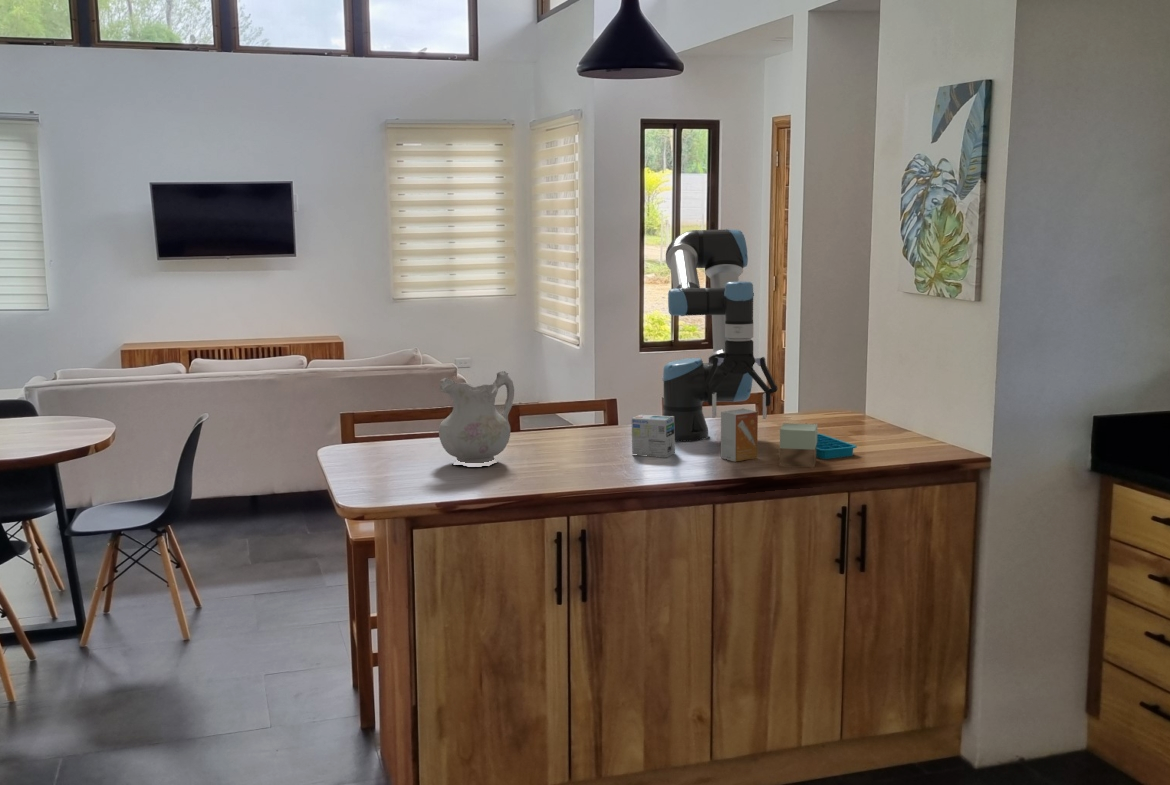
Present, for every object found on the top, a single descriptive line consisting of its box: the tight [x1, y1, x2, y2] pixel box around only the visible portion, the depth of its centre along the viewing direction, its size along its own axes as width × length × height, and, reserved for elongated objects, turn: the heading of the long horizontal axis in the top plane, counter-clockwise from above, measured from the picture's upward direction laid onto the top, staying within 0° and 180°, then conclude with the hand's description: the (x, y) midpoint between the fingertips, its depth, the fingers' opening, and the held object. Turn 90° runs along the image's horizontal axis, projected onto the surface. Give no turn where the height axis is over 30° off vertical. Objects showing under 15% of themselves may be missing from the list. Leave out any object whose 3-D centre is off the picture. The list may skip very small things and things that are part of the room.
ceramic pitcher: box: [438, 370, 515, 463], centre depth 295 cm, size 22×20×25 cm
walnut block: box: [778, 447, 817, 468], centre depth 288 cm, size 9×9×5 cm
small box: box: [720, 408, 759, 462], centre depth 294 cm, size 8×6×13 cm
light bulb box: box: [631, 413, 676, 458], centre depth 302 cm, size 11×7×11 cm, turn 65°
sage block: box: [779, 422, 818, 450], centre depth 287 cm, size 9×9×5 cm
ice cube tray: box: [816, 433, 858, 460], centre depth 302 cm, size 12×20×3 cm, turn 20°
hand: (739, 417), depth 293 cm, fingers open, 13 cm apart
